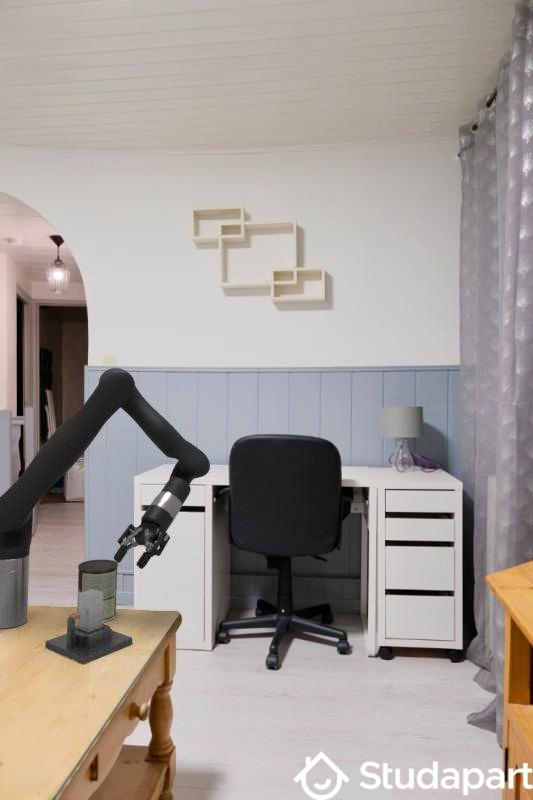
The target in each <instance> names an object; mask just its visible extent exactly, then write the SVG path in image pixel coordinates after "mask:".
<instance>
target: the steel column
mask: <svg viewBox="0 0 533 800" xmlns="http://www.w3.org/2000/svg"><path fill="white" fill-rule="evenodd" d="M77 606H78V614H79V615H80V619H78V620H77V625H78V627H77V630H78V631H80V632H83V633H85V634H90V633H93V632H96V631H99V630H101V629H102V624H103V623H102V621H103V592H101V591H98V590H95V589H91V590H87V591H84V592H80V593H79V597H78V596H77Z"/></svg>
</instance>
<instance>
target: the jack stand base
mask: <svg viewBox="0 0 533 800" xmlns="http://www.w3.org/2000/svg"><path fill="white" fill-rule="evenodd" d="M77 619H80V615H79V614H77V612H76V613H73V614H69V615H68V617H67V627H66V632H67V633H66V634H62V635H58V636H57V637H54V638H51V639H47V640H45V645H44V648H45V647H46V648H45V649H47V648H48V650H50V651H51V652H52V651H53V652H54V653H56V654H59V655H61V656H63V657H65V656H66V658H67V657H68V658H67V659H69V660H72V659H73V660H72V661H74V660H75V662H76V661H77V662H76V663H79V664H81V665H85V664H87V662H88V663H90V662H92V660H93V661H95V660H97V659H100V658H103V657H104V656H107V655H109V654H112V653H114V651H115V652H116V651H120V650H121V649H122V650H123V649H124V648H126V647H129V646H131V644H132V645H133V637H131V636H129V635H126V634H123V633H120V632H119V631H118V632H117V631H115V630H113V629H112V628H111V626H109V625H108V624H105V623H102V629H101V630H99V631H96V632H93V633H90V634H85V633H83V632H80V631H78V630H77V627H78V624H76V621H78V620H77Z"/></svg>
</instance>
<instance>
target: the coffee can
mask: <svg viewBox="0 0 533 800" xmlns="http://www.w3.org/2000/svg"><path fill="white" fill-rule="evenodd" d="M77 567H78V568H77V570H78V576H77V577H78V579H77V598H78V597H79V593H80V592H84V591H87V590H91V589H95V590H98V591H101V592H103V621H102V624H105V623H108V622H110V621H113V620H114V619H115V618H116V617H117V597H118V595H117V592H118V591H117V590H118V589H117V588H118V568H119V563H118V562H116V561H115V560H111V559H90V560H86V561H82V562H81V563H79V564H78V565H77ZM76 614H78V605H77V611H76ZM76 621H78V619H77V620H76Z"/></svg>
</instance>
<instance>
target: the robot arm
mask: <svg viewBox="0 0 533 800" xmlns="http://www.w3.org/2000/svg"><path fill="white" fill-rule="evenodd" d="M120 408H121V409H122V411H124V412H125V413H126V414H127V415H128V416H129V417H130V418H131V419H132V420H133V422H135V423H136V424H137V425H138V427H139V428H140V429H141V430H142V431H143V433H144V434H145V435H146V437H148V439H149V440H150V441H151V443H153V444H154V446H156V448H157V449H158V450H160V452H162V453H163V455H165V456H166V457H167V458H169V459H175V460H177V462H176V463H175V465H174V467H173V469H172V471H171V474H170V475H169V479H168V480H167V482H166V483H165V485H164V486H163V488H162V489H161V491H160V492H159V493H158V494H157V495H156V496H155V497H154V499H153V500H152V501H151V503H150V504H149V506H148V508H147V509H146V510H145V512H144V514H143V515H142V516H141V519H140V522H141V523H140V524H139V525H138V526H135V525H134V524H133V523H130V524H128V526H127V527H126V528H125V530H124V532H123V533H122V534H121V535H120V537H119V538H118V540H117V543H118V544H119V545H120V546H119V548H118V549H117V550H116V552H115V554H114V556H113V561H116V562H117V563H118V564H119V563H121V562H122V561H123V559H124V557H125V556H126V555H127V553H128V551H129V550H131V549H132V548H136V547H138V546H144V548H145V551H143V552H142V554H141V556H140V557H139V558H138V560H137V562H136V564H135V565H136V566H137V567H138V569H140V570H143V569H144V568H145V567H146V566H147V565H148V563H149V561H150V560H151V559H152V558H153V557H155V556H157V557H160V556H161V555H162V553H163V551H164V549H166V546H167V544H168V543H169V541H170V539H171V535H169V534H168V530H169V528H170V527H171V525H172V523H174V520H175V519H176V518H177V516H178V514H179V513H180V510H181V508H182V506H183V505H184V503H185V502H186V501H187V499H188V497H189V495H190V494H191V491H192V489H191V486H190V485H191V483H192V482H193V480H194V479H199V478H203V477H205V476H207V474H208V473H209V472H210V470H211V464H210V463H211V461H210V460H209V458H208V457H207V455H206V453H204V452H203V451H202V449H199V448H198V447H197V445H194V444H193V443H191V442H190V441H189V440H187V439H185V438H184V437H183V436H182V435H181V434H180V432H178V430H177V429H176V428H175V427H174V426H173V425H172V424H171V423H170V422H169V421H168V420H167V419H166V418H165V417H164V416H163V415H162V414H160V413H159V412H158V411H157V409H155V408H154V407H153V406H152V405H151V404H150V403H149V402H148V401H147V399H146V398H145V397H144V396H143V395H142V394H141V393H140V391H139V389H138V388H137V386H136V382H135V379H134V377H133V376H132V374H131V373H130V372H129V371H127V370H125V369H122V368H119V367H112V368H109V369H106V370H105V371H103V372H102V374H101V375H100V376H99V379H98V385H97V386H96V388H95V389H94V390H93V392H92V393H91V395H90V396H89V397H88V398H87V400H86V401H85V402H84V404H83V405H82V406H81V407H80V408H78V410H76V411H75V412H74V413H73V414H71V416H70V417H68V418H67V419H65V421H64V422H63V423H62V424H60V425H59V426H58V427H57V429H56V430H55V431H54V432H53V433H52V434H51V436H50V437H49V438H48V439H47V440H46V441H45V443H44V444H43V445H42V446H41V448H40V449H39V451H38V452H37V453H36V454H35V456H33V458H32V460H31V462H30V463H29V464H28V465H27V466H26V469H25V470H24V472H23V473H22V474H21V476H20V477H19V478H18V479H17V480H16V481H15V482H14V483H13V484H12V485H11V486H9V488H8V489H7V490H6V491H4V493H3V494H2V495H0V630H1V629H11V628H16V627H19V626H22V625H23V624H25V623H27V621H28V610H29V609H28V606H29V583H30V582H29V580H30V578H29V577H30V575H29V574H30V554H31V553H30V552H31V551H30V550H31V544H32V540H33V539H32V538H33V521H34V508H35V507H36V505H37V504H38V503H39V502H40V499H41V498H42V497H43V496H44V495H45V493H46V492H48V491H49V489H50V488H51V487H52V486H54V485H55V484H56V483H57V482H59V480H60V479H62V477H63V476H64V475H66V474H67V473H68V471H69V470H70V469H71V468H72V467H74V465H75V464H76V463H77V462H78V460H79V459H80V458H81V457H82V456H83V455H84V453H85V452H86V451H87V449H88V448H89V447H90V445H91V444H92V443H93V441H94V440H95V439H96V437H97V436H98V434H99V433H100V431H101V430H102V429H103V427H104V426H105V424H107V422H108V421H109V420H110V418H112V417H113V416H114V414H115V413H117V411H118V410H119V409H120Z"/></svg>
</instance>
